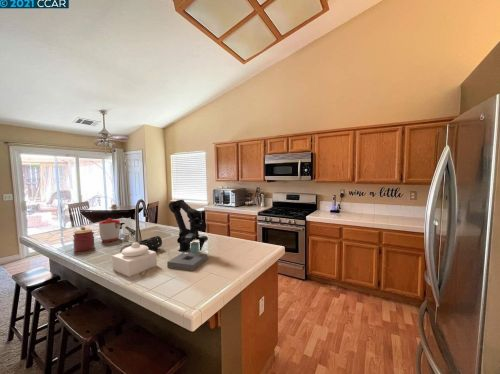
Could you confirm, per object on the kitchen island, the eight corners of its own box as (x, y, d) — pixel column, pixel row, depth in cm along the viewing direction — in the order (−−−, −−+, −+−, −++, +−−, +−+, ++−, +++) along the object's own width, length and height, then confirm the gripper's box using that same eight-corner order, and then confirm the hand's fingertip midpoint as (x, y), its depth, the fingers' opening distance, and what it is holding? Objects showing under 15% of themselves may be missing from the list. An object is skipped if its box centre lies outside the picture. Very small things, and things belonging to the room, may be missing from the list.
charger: (190, 254, 155) (190, 243, 155) (193, 252, 159) (193, 241, 159) (195, 255, 154) (195, 244, 154) (198, 253, 158) (198, 242, 158)
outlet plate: (167, 267, 134) (167, 261, 134) (184, 256, 151) (184, 251, 151) (193, 270, 129) (193, 264, 129) (207, 259, 146) (207, 254, 146)
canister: (69, 250, 166) (68, 228, 165) (87, 245, 178) (86, 224, 177) (80, 253, 161) (79, 229, 160) (98, 247, 173) (97, 225, 172)
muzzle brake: (162, 249, 167) (162, 236, 167) (129, 262, 142) (128, 247, 142) (153, 247, 172) (153, 234, 171) (119, 260, 146) (118, 245, 146)
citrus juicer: (115, 242, 185) (114, 219, 184) (95, 243, 185) (93, 219, 184) (126, 237, 200) (125, 216, 199) (107, 237, 201) (106, 216, 200)
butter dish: (129, 277, 122) (127, 249, 121) (112, 270, 132) (111, 244, 131) (157, 265, 137) (156, 241, 136) (140, 260, 147) (139, 236, 146)
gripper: (176, 230, 151) (176, 252, 152) (200, 232, 145) (200, 255, 146) (185, 226, 161) (185, 247, 162) (208, 228, 156) (208, 249, 157)
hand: (194, 249), depth 157 cm, fingers open, 9 cm apart
